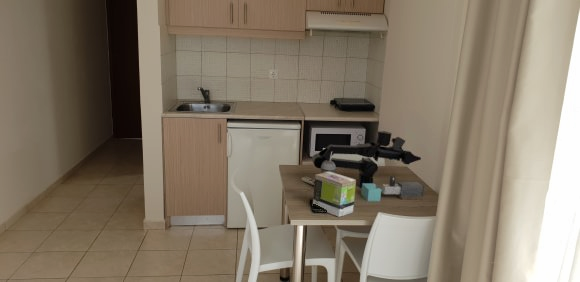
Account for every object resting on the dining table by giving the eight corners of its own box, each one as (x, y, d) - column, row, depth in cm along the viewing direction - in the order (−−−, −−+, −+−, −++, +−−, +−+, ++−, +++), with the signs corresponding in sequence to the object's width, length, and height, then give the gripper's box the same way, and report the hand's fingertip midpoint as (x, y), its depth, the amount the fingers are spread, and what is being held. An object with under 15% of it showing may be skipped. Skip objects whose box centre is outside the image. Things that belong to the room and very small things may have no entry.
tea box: (353, 212, 192) (357, 179, 189) (338, 217, 185) (341, 183, 182) (327, 202, 203) (329, 170, 199) (311, 206, 196) (314, 173, 193)
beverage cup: (324, 188, 221) (327, 148, 216) (336, 192, 216) (340, 151, 212) (315, 191, 215) (318, 150, 211) (328, 195, 211) (331, 154, 206)
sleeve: (400, 199, 212) (402, 185, 210) (395, 195, 217) (397, 181, 215) (422, 199, 214) (424, 185, 212) (417, 195, 219) (419, 182, 217)
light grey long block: (384, 194, 211) (386, 177, 209) (381, 191, 214) (383, 175, 212) (418, 194, 214) (420, 177, 212) (414, 191, 217) (416, 175, 215)
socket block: (367, 201, 207) (368, 189, 206) (361, 194, 215) (362, 183, 214) (380, 201, 208) (381, 189, 207) (373, 194, 217) (374, 183, 215)
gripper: (396, 139, 215) (427, 143, 217) (383, 134, 233) (412, 138, 235) (392, 162, 216) (423, 166, 218) (380, 155, 234) (408, 159, 237)
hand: (416, 156), depth 227 cm, fingers open, 9 cm apart
